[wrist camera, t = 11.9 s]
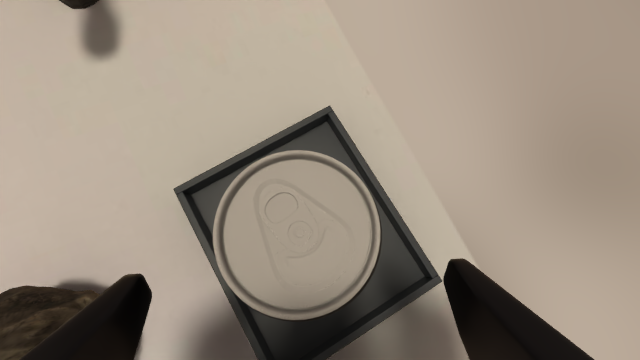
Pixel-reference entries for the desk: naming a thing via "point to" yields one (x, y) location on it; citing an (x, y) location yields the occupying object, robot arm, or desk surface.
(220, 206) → the beverage can
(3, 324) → the rock
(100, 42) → the desk surface
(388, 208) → the serving tray
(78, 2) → the robot
